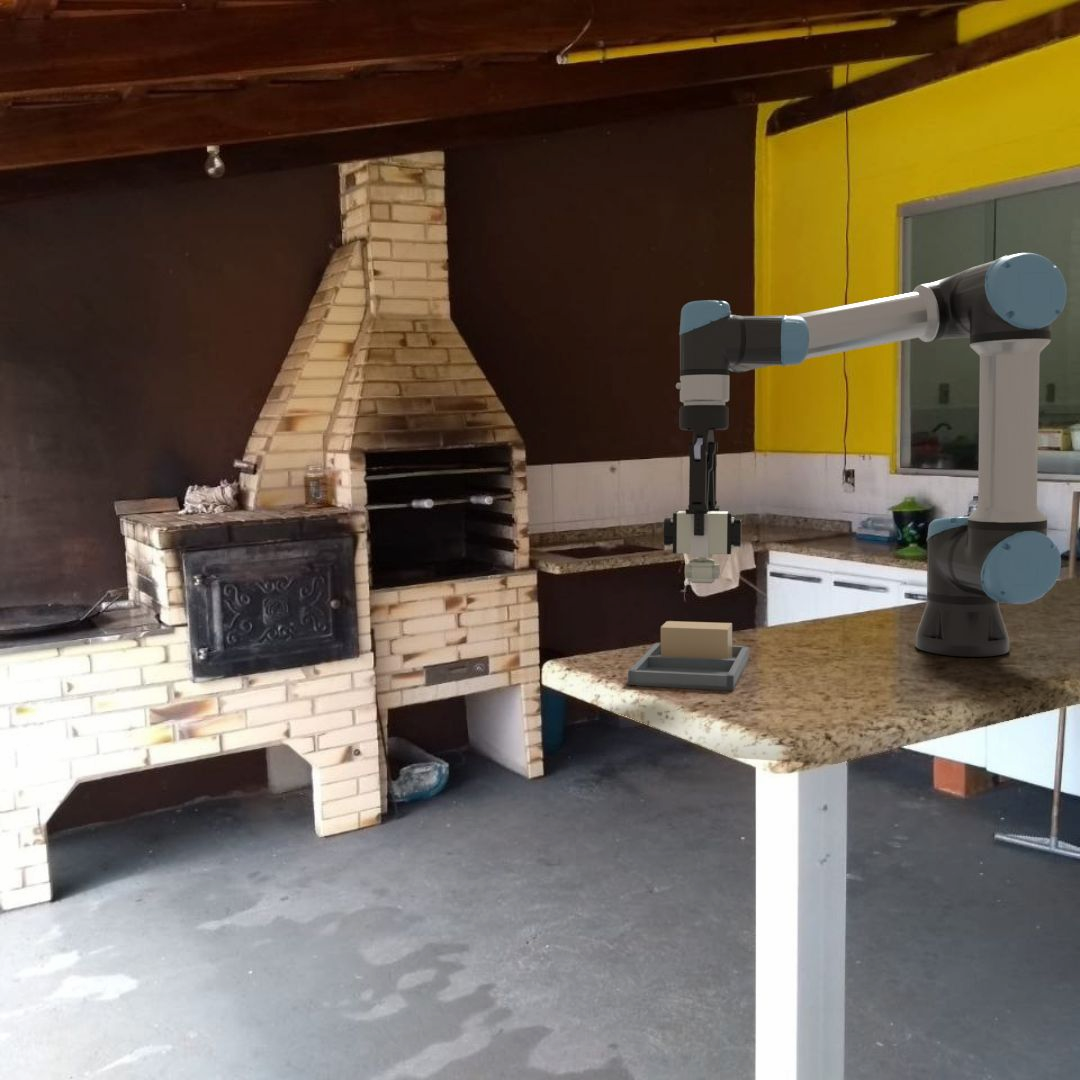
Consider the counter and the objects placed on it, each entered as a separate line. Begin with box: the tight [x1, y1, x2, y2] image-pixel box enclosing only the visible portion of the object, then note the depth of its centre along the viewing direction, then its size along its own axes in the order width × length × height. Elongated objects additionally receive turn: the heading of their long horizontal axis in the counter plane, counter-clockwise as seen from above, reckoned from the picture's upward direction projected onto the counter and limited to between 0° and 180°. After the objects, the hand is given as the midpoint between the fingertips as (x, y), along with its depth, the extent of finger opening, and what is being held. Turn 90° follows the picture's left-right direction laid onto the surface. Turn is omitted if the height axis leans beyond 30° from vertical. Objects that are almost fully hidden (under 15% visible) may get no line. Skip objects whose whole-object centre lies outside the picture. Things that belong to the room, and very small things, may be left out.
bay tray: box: [627, 620, 750, 692], centre depth 170 cm, size 16×23×7 cm
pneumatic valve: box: [663, 510, 742, 584], centre depth 163 cm, size 6×12×12 cm, turn 78°
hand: (702, 554), depth 163 cm, fingers closed on pneumatic valve, 5 cm apart
